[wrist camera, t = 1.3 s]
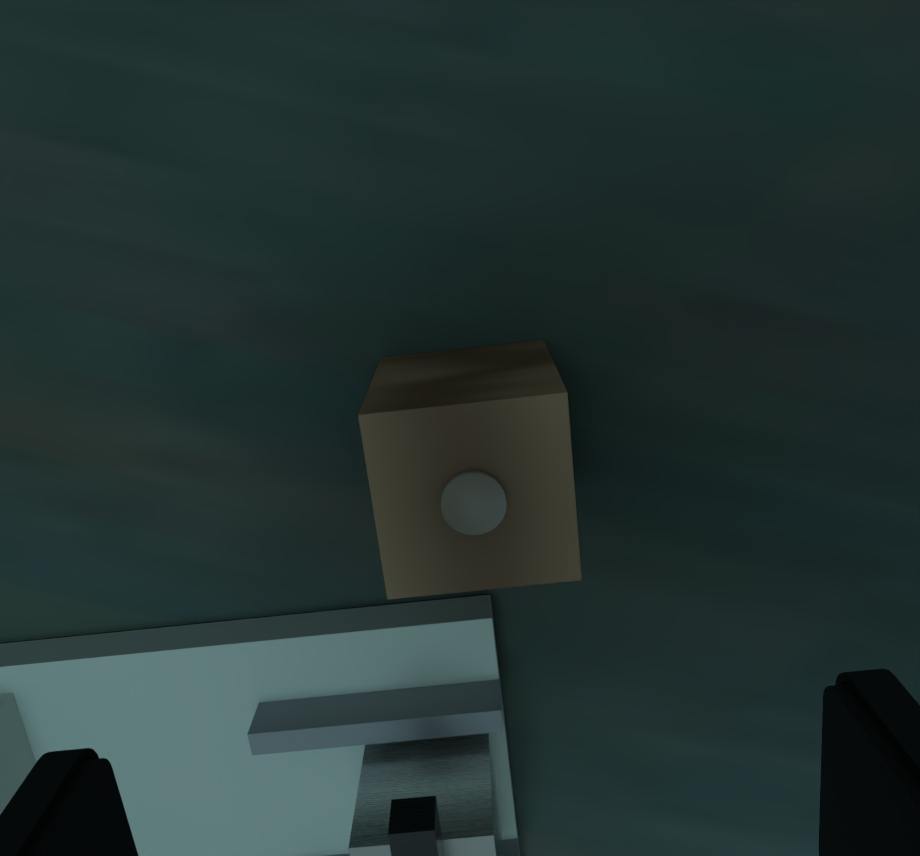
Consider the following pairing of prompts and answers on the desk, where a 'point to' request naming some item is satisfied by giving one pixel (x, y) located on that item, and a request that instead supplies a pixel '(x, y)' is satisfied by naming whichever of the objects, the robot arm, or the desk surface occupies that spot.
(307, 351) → the desk surface
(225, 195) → the desk surface
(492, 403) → the block
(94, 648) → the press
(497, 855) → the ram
